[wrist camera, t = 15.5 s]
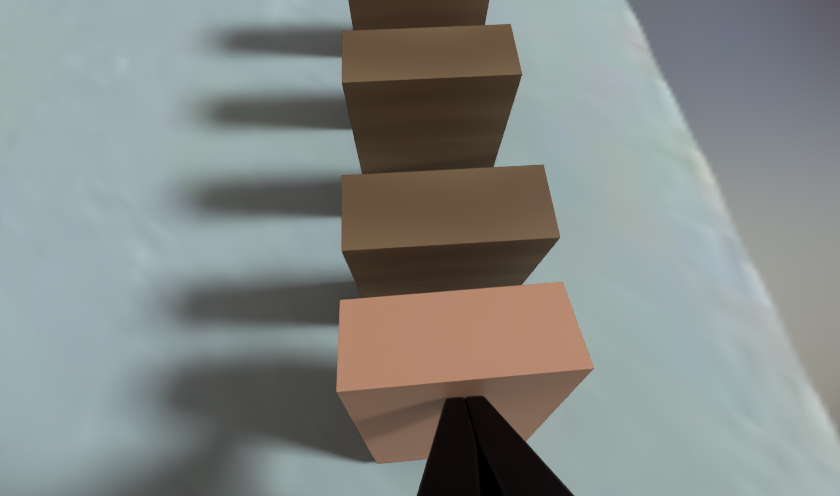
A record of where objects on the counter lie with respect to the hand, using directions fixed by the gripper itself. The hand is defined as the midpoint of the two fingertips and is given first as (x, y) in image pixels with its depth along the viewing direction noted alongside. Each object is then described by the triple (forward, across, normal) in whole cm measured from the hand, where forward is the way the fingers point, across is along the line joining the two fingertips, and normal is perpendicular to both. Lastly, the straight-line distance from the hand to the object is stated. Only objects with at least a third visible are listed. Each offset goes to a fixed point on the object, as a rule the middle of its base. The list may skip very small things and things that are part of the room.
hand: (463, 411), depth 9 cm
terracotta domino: (+4, 0, +5) cm, 7 cm away
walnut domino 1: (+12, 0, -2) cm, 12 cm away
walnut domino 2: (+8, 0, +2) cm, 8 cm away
